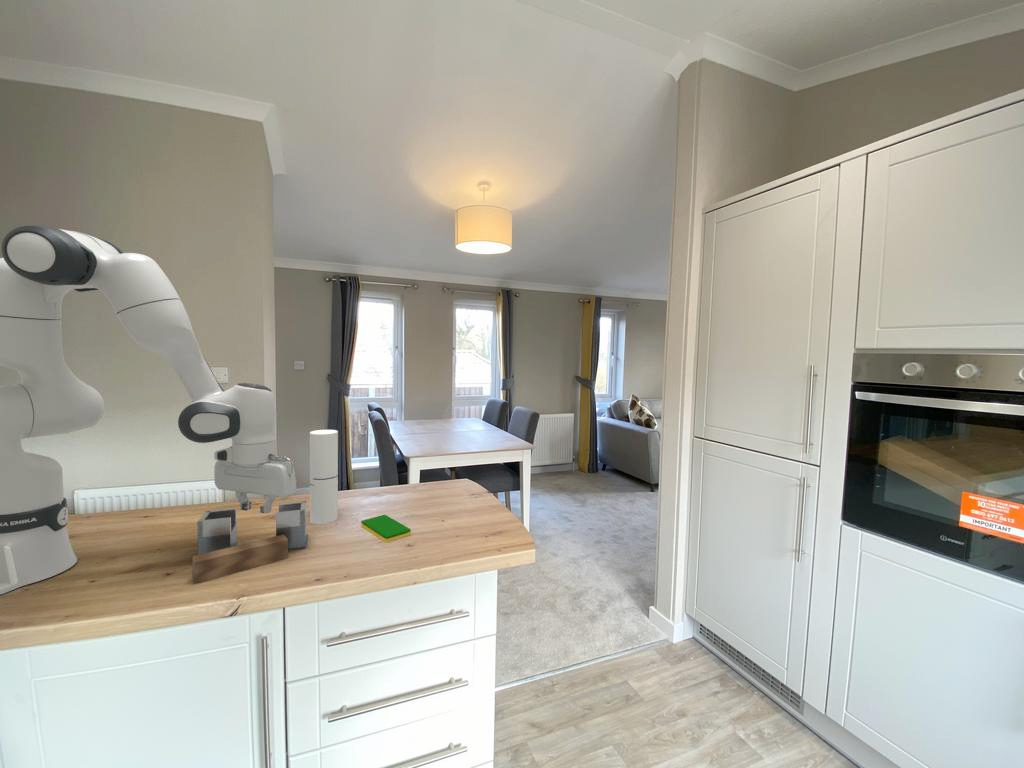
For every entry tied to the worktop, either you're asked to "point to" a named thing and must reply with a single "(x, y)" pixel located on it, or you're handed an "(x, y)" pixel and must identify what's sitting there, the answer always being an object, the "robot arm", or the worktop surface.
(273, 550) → the rail
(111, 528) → the worktop surface
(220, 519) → the bracket stand
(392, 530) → the dish sponge
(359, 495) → the worktop surface
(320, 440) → the cylindrical container
